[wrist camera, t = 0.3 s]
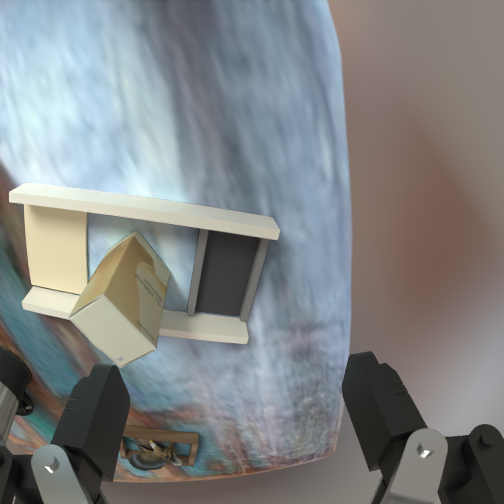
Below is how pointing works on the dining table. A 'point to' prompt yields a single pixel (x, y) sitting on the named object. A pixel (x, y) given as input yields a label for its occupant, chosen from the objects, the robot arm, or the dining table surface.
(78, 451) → the robot arm
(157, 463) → the eagle figurine
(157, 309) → the skincare box
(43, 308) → the channel
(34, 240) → the pad
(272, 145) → the dining table surface
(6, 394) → the milk frother
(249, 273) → the tray
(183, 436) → the display frame
